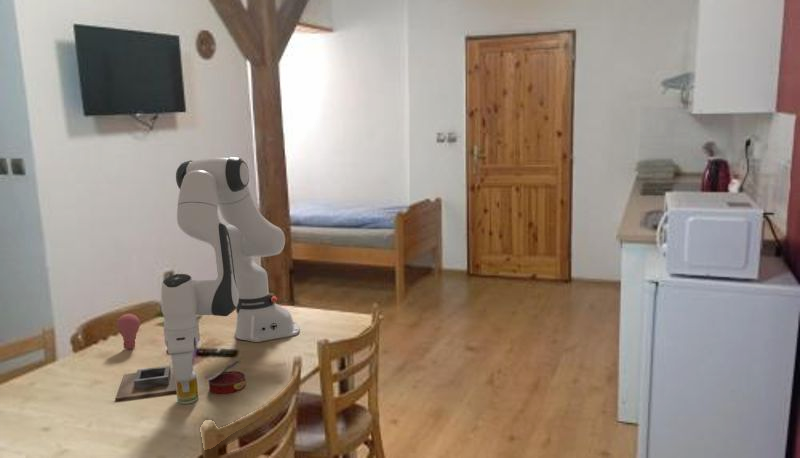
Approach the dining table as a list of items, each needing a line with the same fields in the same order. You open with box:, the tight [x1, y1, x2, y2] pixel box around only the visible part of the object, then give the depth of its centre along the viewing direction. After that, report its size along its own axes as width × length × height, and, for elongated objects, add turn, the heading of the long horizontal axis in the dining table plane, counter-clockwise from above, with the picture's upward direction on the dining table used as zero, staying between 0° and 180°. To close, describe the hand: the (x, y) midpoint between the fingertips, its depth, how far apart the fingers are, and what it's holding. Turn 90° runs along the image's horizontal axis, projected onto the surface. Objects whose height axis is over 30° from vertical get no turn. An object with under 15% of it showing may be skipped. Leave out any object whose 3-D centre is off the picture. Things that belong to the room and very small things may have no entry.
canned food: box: [208, 360, 246, 396], centre depth 183 cm, size 11×10×10 cm
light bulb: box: [116, 313, 141, 350], centre depth 217 cm, size 7×7×12 cm
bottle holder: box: [115, 365, 177, 402], centre depth 188 cm, size 18×18×3 cm
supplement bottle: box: [176, 364, 199, 405], centre depth 175 cm, size 5×5×10 cm
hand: (186, 385), depth 176 cm, fingers open, 7 cm apart
